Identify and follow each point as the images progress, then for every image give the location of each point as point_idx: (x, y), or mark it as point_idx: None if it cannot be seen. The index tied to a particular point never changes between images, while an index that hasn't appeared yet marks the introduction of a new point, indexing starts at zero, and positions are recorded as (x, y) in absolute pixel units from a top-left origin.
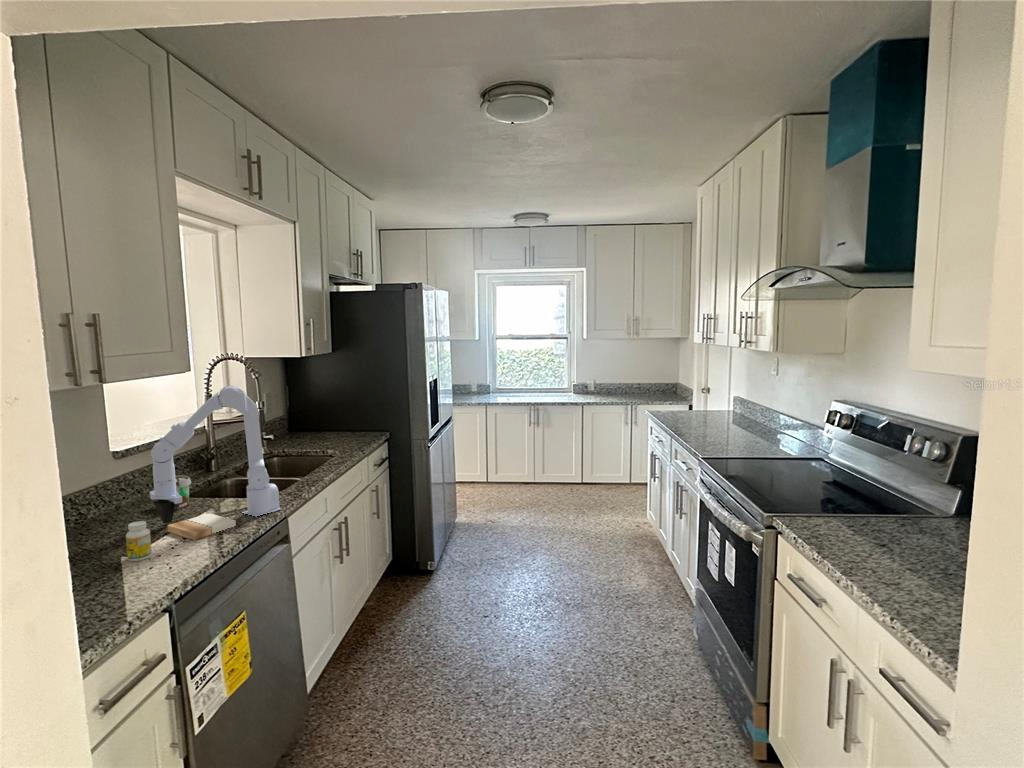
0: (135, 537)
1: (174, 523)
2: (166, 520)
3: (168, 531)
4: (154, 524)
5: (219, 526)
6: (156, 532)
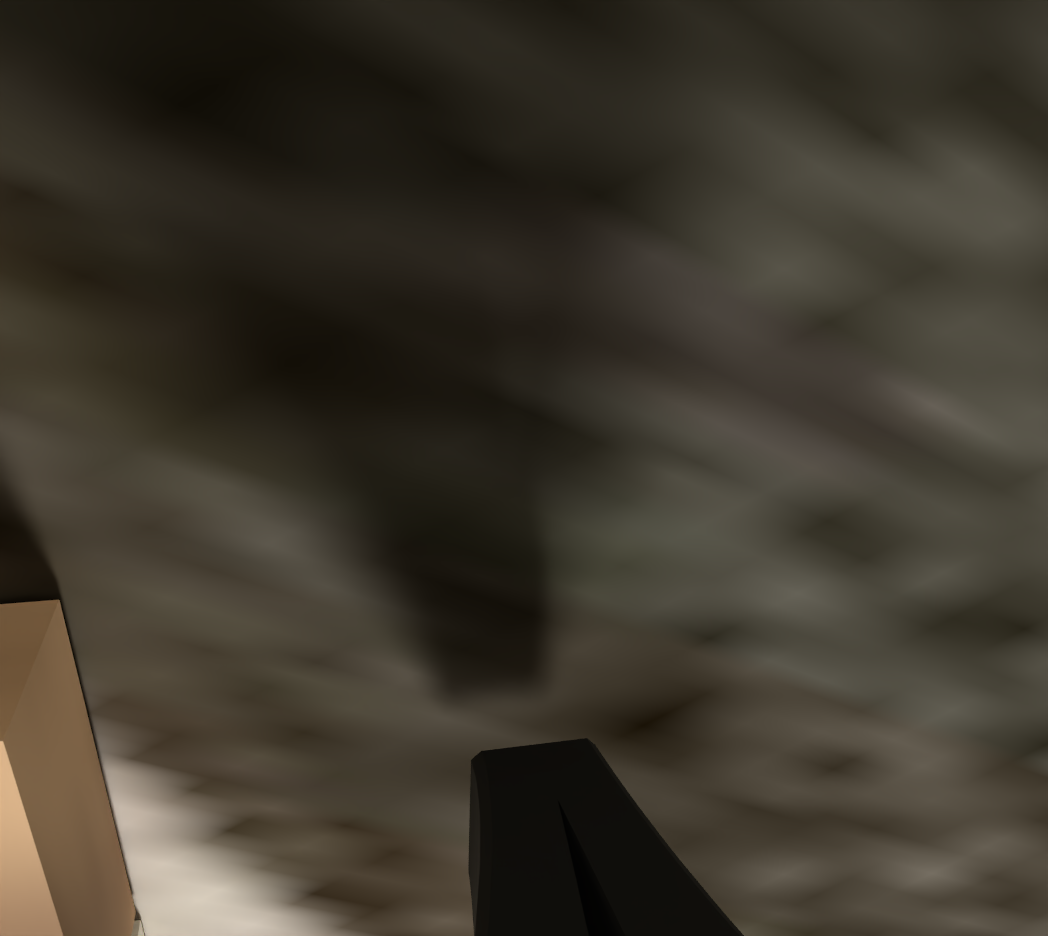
0: None
1: (22, 892)
2: (477, 845)
3: (28, 607)
4: (929, 620)
5: None
6: (322, 417)
